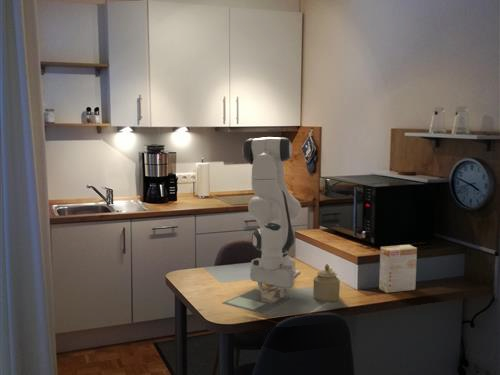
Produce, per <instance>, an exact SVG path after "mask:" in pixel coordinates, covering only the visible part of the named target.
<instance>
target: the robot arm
mask: <svg viewBox="0 0 500 375" xmlns="http://www.w3.org/2000/svg"><path fill="white" fill-rule="evenodd" d="M292 153H293V144H292V142H291V140H290V139H289V138H288V137H283V136H282V137H273V136H267V137H258V138H253V137H252V138H249V139H246V140H245V141H244V142H243V146H242V155H243V158H244V159H245V161H246V162H248V163H249V164H250V165H251V189H252V192H253V194H254V195H255V196H254V197H252V198H251V199H250V200H249V202H248V205H247V209H248V210H247V211H248V213H249V215H250V216H251V217H252V218H253V219H254V220H255V221H256V222H257V224H258V226H259V227H260V228H256V229H255V230H254V231H253V233H252V234H251V244H252V246H253V248H255V249H256V250H257V251H260V254H261V257H257V258H254V259H252V260H251V267H250V271H249V272H250V273H249V274H250V275H249V276H250V279H251V281H253V282H256V283H257V286H258V289H259V290H260V292H262V291H264V290H266V288H265V287H264V286H263V284H266V285H270V286H277V287H280V289H281V292H279V293H278V297H283V293H284V294H285V291H286V289H287V290H289V289H292V288H293V287H294V286H295V285H294V284H295V283H294V280H295V279H294V278H295V277H296V276H298V275H299V274H300V273H301V270H299V269H296V263H295V260H294V259H292V258H291V256H289V254H288V252H290V251H291V248H292V246H294V243H295V235H294V231H293V227H292V222H291V221H295V220H297V219H298V218H299V217H300V216H301V213H302V204H301V203H300V201H299V200H298V199H296V198H295V197H294V196H293V195H292V193H290V191H289V189H288V188H287V184H286V180H285V168H284V167H285V165H284V162H286V161H289V159H291V157H292V155H293V154H292ZM275 221H279V224H278V223H276V222H275Z"/></svg>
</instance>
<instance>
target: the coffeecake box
mask: <svg viewBox="0 0 500 375" xmlns="http://www.w3.org/2000/svg"><path fill="white" fill-rule="evenodd" d="M379 254H380V255H379V279H378V280H379V281H378V282H379V283H378V284H379V286H378V289H379V290H381V291H383V292H385V293H387V294H388V293H389V294H390V293H397V292H405V291H406V292H407V291H415V290H416V283H417V282H416V281H417V279H416V278H417V260H418V259H417V257H418V256H417V255H418V247H415V246H413V245H411V244H400V245H389V246H380V253H379Z"/></svg>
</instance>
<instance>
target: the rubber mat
mask: <svg viewBox="0 0 500 375" xmlns="http://www.w3.org/2000/svg"><path fill="white" fill-rule="evenodd" d="M293 298H294V297H293V296H288V295H284V298H281V299H279V300H277V301H275V302H273V303H267V302H263V301H261V292H260V288H254V289H252V290H249V291H246V292H244V293H243V294H239V295H238V296H235V297H233V298H230V299H228V300H225V301H223V302H222V304H223V305H227V306H230V307H234V308H239V309H243V310H246V311H250V312H254V313H257V314H263V313H265V312H267V311H270V310H272V309H274V308H275V307H278V306H279V305H281V304H284V303H285V302H288V301H290V300H292V299H293Z"/></svg>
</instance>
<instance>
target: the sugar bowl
mask: <svg viewBox="0 0 500 375" xmlns="http://www.w3.org/2000/svg"><path fill="white" fill-rule="evenodd" d="M316 275H317V276H315V277H313V286H312V287H313V292H312V293H313V298H314V299H316V300H317V301H318V300H319V301H324V302H327V303H334V302H337V301H339V299H340V288H341V287H340V286H341V284H340V283H341V280H340V278H339V277H337V275H338V274H337V273H336V272H335V271H334V270H333V268H330V265H329V264H325V266H324V269H322V270H320V271H318V272H317V273H316Z"/></svg>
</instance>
